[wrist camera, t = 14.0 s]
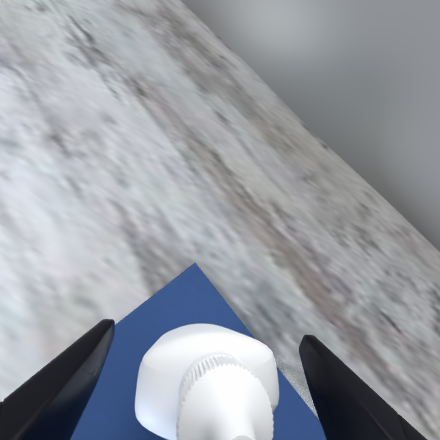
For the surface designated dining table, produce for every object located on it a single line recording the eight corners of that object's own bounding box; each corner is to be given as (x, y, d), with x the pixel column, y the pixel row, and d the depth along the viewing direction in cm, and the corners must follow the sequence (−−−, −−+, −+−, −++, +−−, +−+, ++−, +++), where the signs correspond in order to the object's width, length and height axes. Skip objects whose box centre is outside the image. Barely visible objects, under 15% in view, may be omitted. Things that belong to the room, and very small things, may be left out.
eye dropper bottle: (218, 408, 13) (369, 814, 3) (145, 362, 14) (3, 551, 3) (245, 339, 15) (397, 403, 4) (180, 301, 16) (174, 274, 5)
